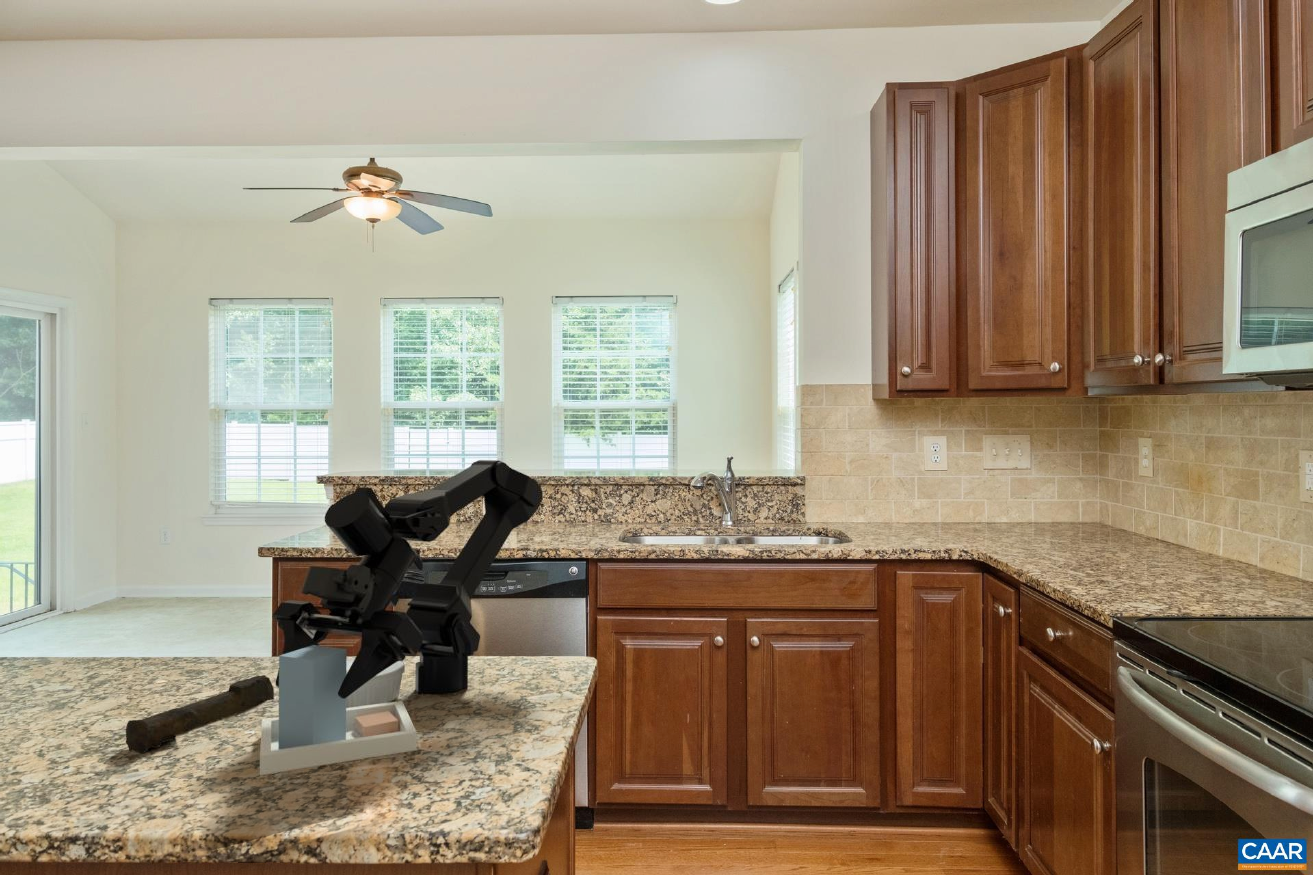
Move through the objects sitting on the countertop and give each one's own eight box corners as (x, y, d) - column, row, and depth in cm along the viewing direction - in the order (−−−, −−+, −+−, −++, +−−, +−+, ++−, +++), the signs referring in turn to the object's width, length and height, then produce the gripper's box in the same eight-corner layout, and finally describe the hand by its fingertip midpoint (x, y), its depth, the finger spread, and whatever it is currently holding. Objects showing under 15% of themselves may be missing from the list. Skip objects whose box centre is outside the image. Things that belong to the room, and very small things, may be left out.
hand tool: (143, 757, 90) (144, 717, 90) (122, 751, 92) (123, 711, 92) (286, 708, 107) (287, 674, 107) (266, 704, 109) (267, 670, 109)
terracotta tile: (388, 722, 98) (388, 710, 98) (398, 732, 95) (398, 720, 95) (354, 729, 96) (355, 717, 96) (364, 739, 93) (364, 726, 93)
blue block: (312, 737, 93) (313, 644, 93) (345, 744, 92) (346, 649, 92) (278, 753, 89) (279, 655, 89) (312, 760, 87) (313, 660, 87)
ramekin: (298, 712, 105) (298, 672, 105) (358, 688, 116) (358, 652, 116) (364, 723, 101) (364, 682, 101) (420, 697, 112) (421, 660, 112)
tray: (401, 724, 101) (401, 700, 101) (416, 758, 90) (416, 732, 90) (261, 744, 94) (262, 719, 94) (259, 784, 83) (259, 755, 83)
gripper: (284, 535, 98) (204, 645, 88) (407, 543, 91) (336, 664, 81) (332, 587, 105) (263, 695, 95) (448, 598, 98) (388, 715, 88)
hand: (309, 691), depth 90 cm, fingers open, 9 cm apart
